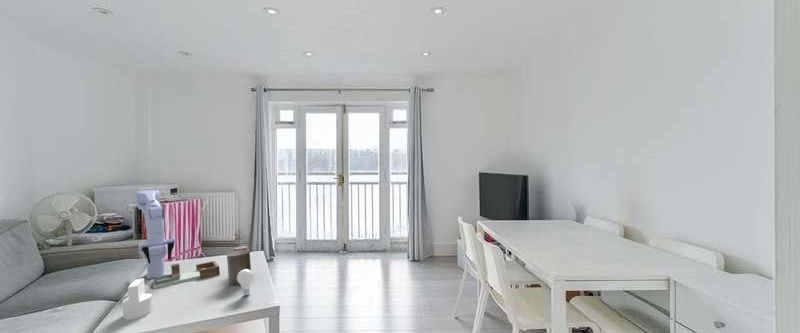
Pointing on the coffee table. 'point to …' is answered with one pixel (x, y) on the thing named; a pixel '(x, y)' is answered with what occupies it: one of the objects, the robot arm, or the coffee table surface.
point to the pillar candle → (237, 264)
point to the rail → (165, 279)
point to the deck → (180, 279)
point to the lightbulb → (245, 280)
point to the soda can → (241, 248)
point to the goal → (208, 269)
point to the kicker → (175, 270)
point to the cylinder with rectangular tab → (137, 301)
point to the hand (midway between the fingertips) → (159, 261)
